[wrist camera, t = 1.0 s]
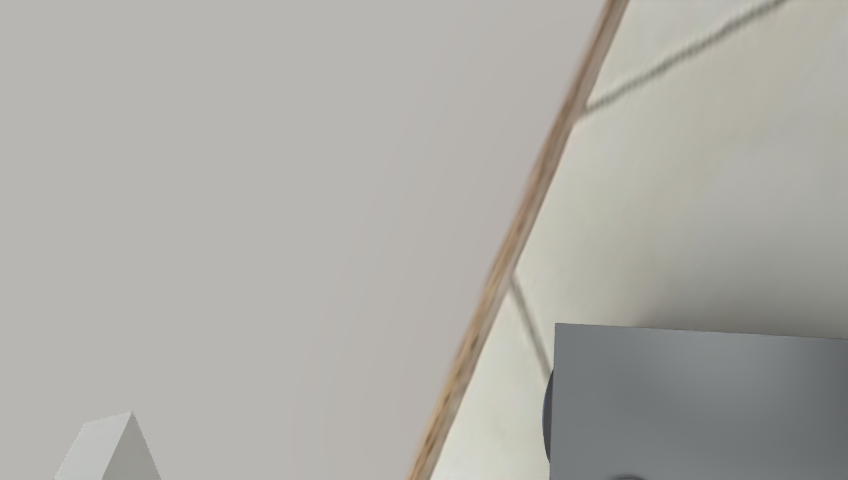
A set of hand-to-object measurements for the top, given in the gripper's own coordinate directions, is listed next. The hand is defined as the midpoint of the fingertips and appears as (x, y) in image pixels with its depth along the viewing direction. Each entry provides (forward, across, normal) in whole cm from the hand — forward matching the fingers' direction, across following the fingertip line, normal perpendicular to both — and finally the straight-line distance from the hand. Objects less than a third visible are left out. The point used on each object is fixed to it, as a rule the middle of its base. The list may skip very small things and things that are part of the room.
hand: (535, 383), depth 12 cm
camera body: (+16, +12, -17) cm, 27 cm away
